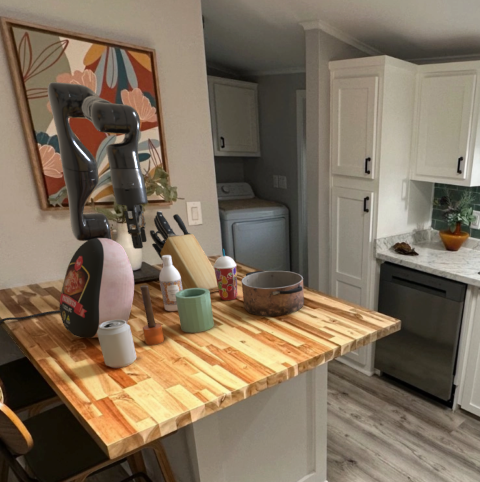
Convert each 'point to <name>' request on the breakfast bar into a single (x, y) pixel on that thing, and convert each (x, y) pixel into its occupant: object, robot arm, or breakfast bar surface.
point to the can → (116, 343)
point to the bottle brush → (150, 320)
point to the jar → (194, 310)
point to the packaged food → (96, 287)
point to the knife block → (184, 254)
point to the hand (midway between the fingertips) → (140, 245)
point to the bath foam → (169, 283)
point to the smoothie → (226, 277)
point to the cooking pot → (272, 292)
